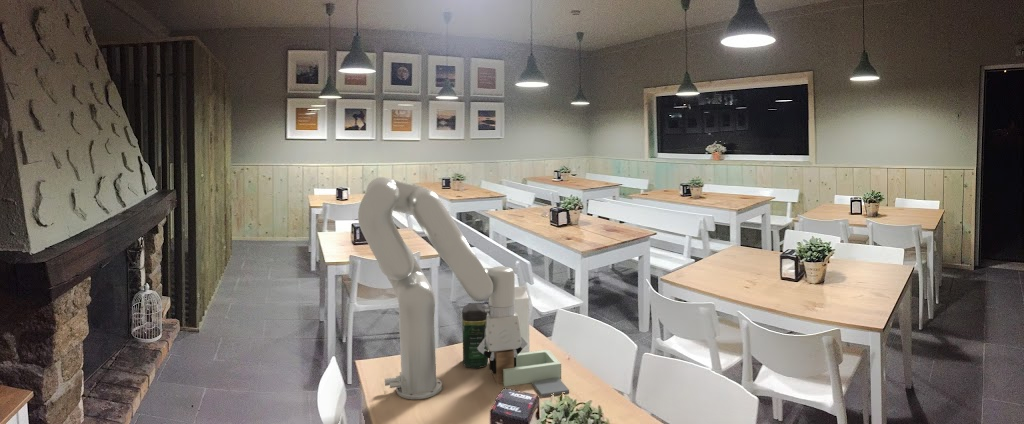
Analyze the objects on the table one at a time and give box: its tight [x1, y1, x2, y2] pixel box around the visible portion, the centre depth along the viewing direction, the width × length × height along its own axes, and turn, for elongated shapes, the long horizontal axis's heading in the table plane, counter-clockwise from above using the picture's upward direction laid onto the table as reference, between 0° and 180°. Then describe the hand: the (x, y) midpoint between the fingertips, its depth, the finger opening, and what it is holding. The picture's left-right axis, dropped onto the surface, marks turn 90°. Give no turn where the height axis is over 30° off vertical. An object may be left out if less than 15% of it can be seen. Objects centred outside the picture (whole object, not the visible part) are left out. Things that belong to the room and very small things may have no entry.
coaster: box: [531, 378, 570, 398], centre depth 151 cm, size 8×8×1 cm
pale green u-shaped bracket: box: [502, 349, 562, 387], centre depth 160 cm, size 17×11×4 cm, turn 106°
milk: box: [515, 285, 531, 353], centre depth 175 cm, size 6×6×22 cm
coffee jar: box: [461, 302, 489, 369], centre depth 167 cm, size 10×8×19 cm
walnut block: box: [491, 350, 514, 384], centre depth 157 cm, size 5×6×9 cm
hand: (502, 369), depth 157 cm, fingers closed on walnut block, 5 cm apart
